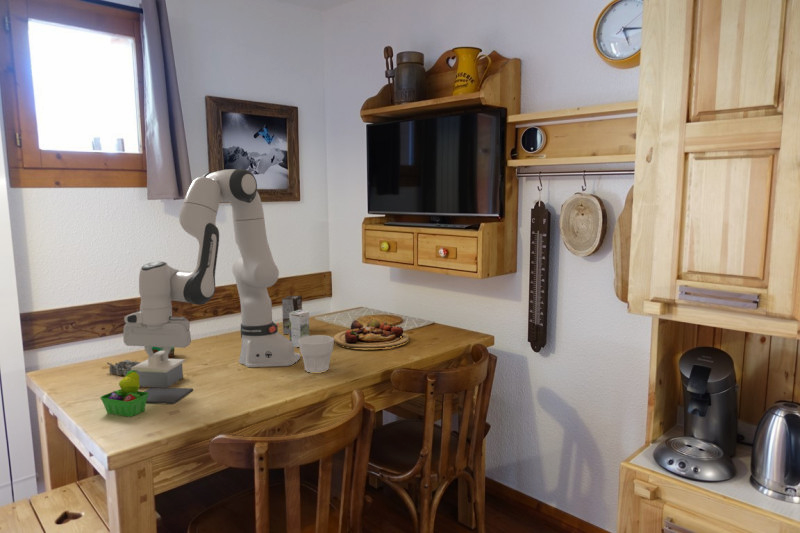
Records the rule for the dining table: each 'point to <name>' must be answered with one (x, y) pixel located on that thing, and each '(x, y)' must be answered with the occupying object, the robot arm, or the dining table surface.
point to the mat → (166, 394)
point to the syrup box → (298, 326)
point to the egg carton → (122, 367)
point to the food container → (157, 349)
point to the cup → (316, 352)
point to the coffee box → (290, 310)
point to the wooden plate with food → (371, 335)
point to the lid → (157, 364)
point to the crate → (160, 377)
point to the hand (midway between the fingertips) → (158, 360)
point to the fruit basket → (126, 397)
